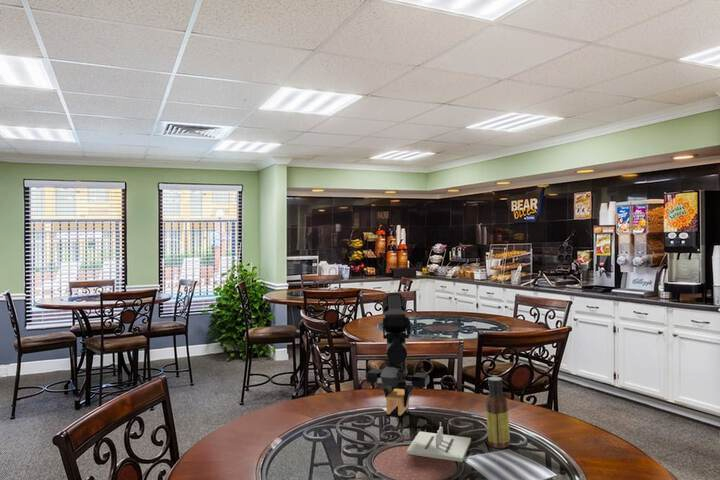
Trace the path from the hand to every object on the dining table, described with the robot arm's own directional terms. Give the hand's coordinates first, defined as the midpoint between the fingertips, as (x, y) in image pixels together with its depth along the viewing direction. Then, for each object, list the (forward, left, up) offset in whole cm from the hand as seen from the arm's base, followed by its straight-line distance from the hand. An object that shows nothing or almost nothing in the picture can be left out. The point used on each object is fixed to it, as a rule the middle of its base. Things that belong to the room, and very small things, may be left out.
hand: (398, 405), depth 154 cm
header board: (+12, 0, -11) cm, 17 cm away
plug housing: (0, 0, -1) cm, 1 cm away
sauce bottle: (+28, +7, -11) cm, 31 cm away
